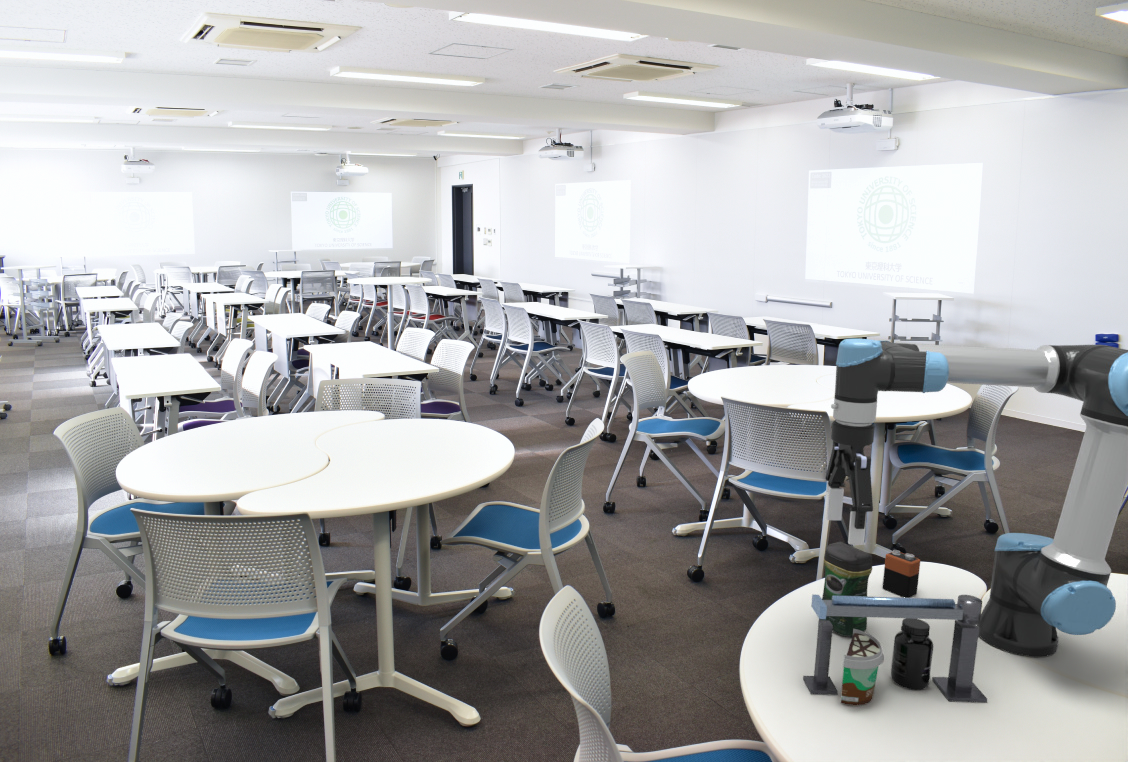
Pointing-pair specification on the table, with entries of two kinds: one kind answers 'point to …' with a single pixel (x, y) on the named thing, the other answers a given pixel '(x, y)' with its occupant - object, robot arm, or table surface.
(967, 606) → the cable arm
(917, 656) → the supplement bottle
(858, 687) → the food container
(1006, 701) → the table surface
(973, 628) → the pivot post
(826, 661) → the rest post
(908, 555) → the battery
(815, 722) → the table surface
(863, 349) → the robot arm
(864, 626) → the coffee jar
